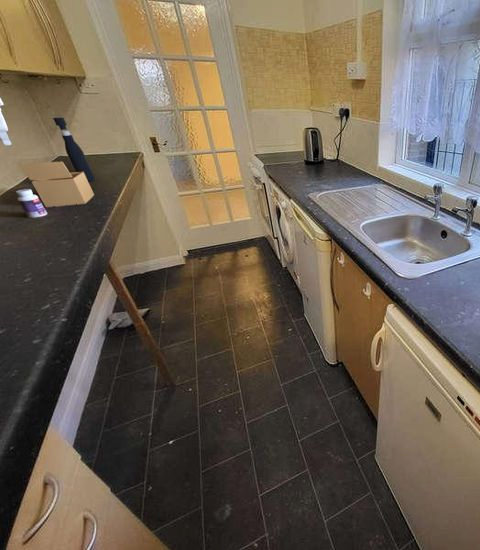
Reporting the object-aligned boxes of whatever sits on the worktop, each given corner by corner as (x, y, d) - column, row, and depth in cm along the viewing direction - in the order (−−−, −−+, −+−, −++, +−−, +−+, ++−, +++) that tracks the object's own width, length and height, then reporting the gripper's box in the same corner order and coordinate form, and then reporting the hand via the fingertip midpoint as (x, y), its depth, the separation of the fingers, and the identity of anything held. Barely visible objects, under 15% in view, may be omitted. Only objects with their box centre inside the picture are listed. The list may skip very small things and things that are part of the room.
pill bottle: (45, 216, 113) (30, 191, 108) (26, 219, 111) (10, 193, 106) (49, 212, 117) (35, 187, 112) (31, 214, 115) (15, 189, 110)
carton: (85, 203, 127) (73, 178, 121) (46, 207, 122) (31, 181, 116) (94, 195, 138) (83, 171, 132) (58, 198, 133) (45, 174, 127)
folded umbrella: (98, 180, 160) (69, 117, 144) (83, 182, 155) (51, 118, 139) (93, 178, 163) (64, 117, 147) (79, 180, 158) (47, 117, 142)
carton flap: (72, 176, 121) (72, 177, 121) (30, 179, 116) (30, 180, 116) (62, 161, 116) (62, 161, 116) (18, 163, 111) (17, 164, 111)
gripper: (-33, 98, 103) (-8, 141, 110) (-32, 99, 92) (-4, 147, 99) (-7, 98, 107) (16, 139, 115) (-2, 100, 96) (22, 145, 104)
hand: (7, 143), depth 107 cm, fingers open, 8 cm apart
